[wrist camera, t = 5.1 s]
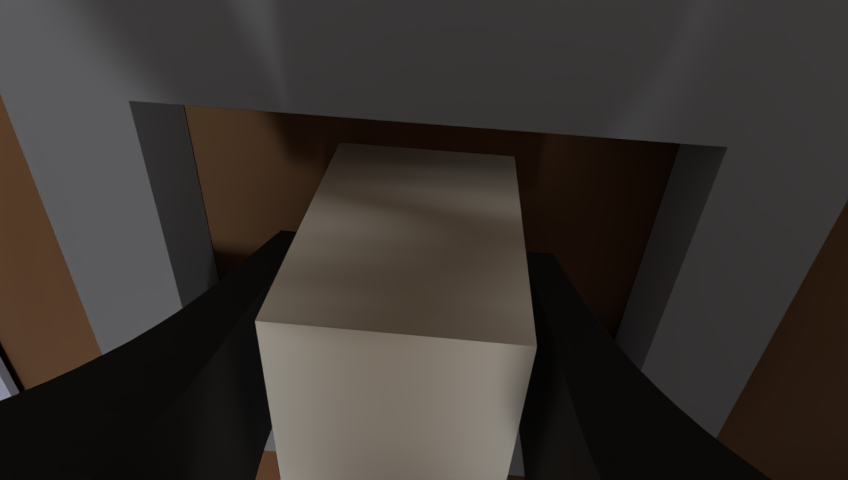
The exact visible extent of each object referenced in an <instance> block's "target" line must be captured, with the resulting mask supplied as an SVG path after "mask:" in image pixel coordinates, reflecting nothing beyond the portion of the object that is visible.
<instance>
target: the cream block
mask: <svg viewBox="0 0 848 480" xmlns="http://www.w3.org/2000/svg"><path fill="white" fill-rule="evenodd" d="M255 324H256V330H257V336H258V343H259V349H260V355H261V361H262V367H263V373H264V379H265V385H266V391H267V397H268V403H269V410H270V416H271V422H272V428H273V434H274V440H275V446H276V452H277V458H278V464H279V471H280V477H281V480H507V476H508V472H509V468H510V463H511V459H512V454H513V450H514V446H515V441H516V437H517V432H518V428H519V424H520V419H521V415H522V410H523V406H524V402H525V397H526V393H527V389H528V384H529V380H530V375H531V371H532V367H533V362H534V358H535V353H536V349H537V342H536V334H535V325H534V317H533V309H532V300H531V292H530V283H529V275H528V266H527V258H526V249H525V241H524V233H523V224H522V216H521V207H520V199H519V190H518V182H517V174H516V165H515V157H514V156H502V155H490V154H477V153H465V152H452V151H440V150H427V149H415V148H402V147H390V146H377V145H365V144H352V143H339V145H338V147H337V149H336V151H335V153H334V155H333V157H332V159H331V161H330V164H329V166H328V168H327V170H326V172H325V174H324V176H323V178H322V180H321V183H320V185H319V187H318V189H317V191H316V193H315V195H314V197H313V199H312V202H311V204H310V206H309V208H308V210H307V212H306V214H305V216H304V218H303V221H302V223H301V225H300V227H299V229H298V231H297V233H296V235H295V237H294V240H293V242H292V244H291V246H290V248H289V250H288V252H287V254H286V256H285V259H284V261H283V263H282V265H281V267H280V269H279V271H278V273H277V275H276V278H275V280H274V282H273V284H272V286H271V288H270V290H269V292H268V294H267V297H266V299H265V301H264V303H263V305H262V307H261V309H260V311H259V313H258V316H257V318H256V320H255Z"/></svg>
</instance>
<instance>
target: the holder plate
mask: <svg viewBox="0 0 848 480" xmlns="http://www.w3.org/2000/svg"><path fill="white" fill-rule="evenodd" d="M0 95H1V97H2V100H3V102H4V105H5V107H6V110H7V113H8V115H9V118H10V120H11V123H12V125H13V128H14V130H15V133H16V136H17V138H18V141H19V143H20V146H21V148H22V151H23V153H24V156H25V159H26V161H27V164H28V166H29V169H30V171H31V174H32V176H33V179H34V182H35V184H36V187H37V189H38V192H39V194H40V197H41V199H42V202H43V205H44V207H45V210H46V212H47V215H48V217H49V220H50V222H51V225H52V228H53V230H54V233H55V235H56V238H57V240H58V243H59V245H60V248H61V251H62V253H63V256H64V258H65V261H66V263H67V266H68V268H69V271H70V274H71V276H72V279H73V281H74V284H75V286H76V289H77V291H78V294H79V297H80V299H81V302H82V304H83V307H84V309H85V312H86V314H87V317H88V320H89V322H90V325H91V327H92V330H93V332H94V335H95V337H96V340H97V343H98V345H99V348H100V350H101V353H102V355H103V354H105V353H107V352H109V351H111V350H113V349H115V348H117V347H119V346H121V345H123V344H125V343H127V342H129V341H130V340H132V339H134V338H136V337H137V336H139V335H141V334H142V333H144V332H146V331H147V330H149V329H151V328H152V327H154V326H156V325H157V324H159V323H161V322H162V321H164V320H165V319H167V318H169V317H170V316H172V315H173V314H175V313H176V312H178V311H179V310H181V309H182V308H183V307H185V306H186V305H188V304H189V303H190V302H192V301H193V300H194V299H196V298H197V297H199V296H200V295H201V294H203V293H204V292H206V291H207V290H208V289H210V288H211V287H212V286H214V285H215V284H216V283H218V282H219V278H218V273H217V268H216V263H215V258H214V253H213V249H212V244H211V239H210V234H209V229H208V224H207V219H206V214H205V209H204V204H203V199H202V194H201V189H200V184H199V179H198V175H197V170H196V165H195V160H194V155H193V150H192V145H191V140H190V135H189V130H188V125H187V120H186V115H185V110H184V106H183V105H191V106H204V107H217V108H230V109H243V110H256V111H269V112H281V113H294V114H307V115H320V116H333V117H346V118H359V119H372V120H384V121H397V122H410V123H423V124H436V125H449V126H462V127H474V128H487V129H500V130H513V131H526V132H539V133H552V134H564V135H577V136H590V137H603V138H616V139H629V140H642V141H654V142H667V143H680V146H679V149H678V152H677V155H676V158H675V161H674V164H673V167H672V170H671V173H670V176H669V179H668V182H667V185H666V188H665V191H664V194H663V197H662V200H661V203H660V206H659V209H658V212H657V215H656V218H655V221H654V224H653V227H652V230H651V233H650V236H649V239H648V242H647V245H646V248H645V251H644V254H643V257H642V260H641V263H640V266H639V269H638V272H637V275H636V278H635V281H634V284H633V287H632V290H631V293H630V296H629V299H628V302H627V305H626V308H625V311H624V314H623V317H622V320H621V323H620V326H619V329H618V332H617V335H616V338H615V342H616V343H617V344H618V346H619V347H620V348H621V349H622V350H623V352H624V353H625V354H626V355H627V356H628V357H629V359H630V360H631V361H632V362H633V363H634V364H635V365H636V366H637V367H638V368H639V369H640V370H641V371H642V372H643V373H644V374H645V375H646V376H647V377H648V378H649V379H650V380H651V382H652V383H653V384H654V385H655V386H656V387H657V388H658V389H659V390H660V391H661V392H663V393H664V394H665V395H666V396H667V397H668V398H669V399H670V400H671V401H672V402H673V403H674V404H675V405H677V406H678V407H679V408H680V409H681V410H682V411H684V412H685V413H686V414H687V415H688V416H689V417H690V418H692V419H693V420H694V421H695V422H696V423H697V424H699V425H700V426H701V427H702V428H703V429H704V430H706V431H707V432H708V433H709V434H711V435H712V436H713V437H714V438H717V436H718V434H719V432H720V430H721V429H722V427H723V425H724V423H725V421H726V420H727V418H728V416H729V414H730V412H731V411H732V409H733V407H734V405H735V403H736V401H737V400H738V398H739V396H740V394H741V392H742V391H743V389H744V387H745V385H746V383H747V382H748V380H749V378H750V376H751V374H752V373H753V371H754V369H755V367H756V365H757V363H758V362H759V360H760V358H761V356H762V354H763V353H764V351H765V349H766V347H767V345H768V344H769V342H770V340H771V338H772V336H773V335H774V333H775V331H776V329H777V327H778V325H779V324H780V322H781V320H782V318H783V316H784V315H785V313H786V311H787V309H788V307H789V306H790V304H791V302H792V300H793V298H794V296H795V295H796V293H797V291H798V289H799V287H800V286H801V284H802V282H803V280H804V278H805V277H806V275H807V273H808V271H809V269H810V268H811V266H812V264H813V262H814V260H815V258H816V257H817V255H818V253H819V251H820V249H821V248H822V246H823V244H824V242H825V240H826V239H827V237H828V235H829V233H830V231H831V230H832V228H833V226H834V224H835V222H836V220H837V219H838V217H839V215H840V213H841V211H842V210H843V208H844V206H845V204H846V202H847V201H848V0H0ZM264 450H266V451H276V446H275V440H274V434H273V428H272V430H271V432H270V435H269V437H268V440H267V443H266V446H265V449H264ZM508 475H514V476H524V466H523V457H522V449H521V442H520V434H519V428H518V432H517V437H516V441H515V446H514V450H513V454H512V459H511V463H510V468H509V472H508Z"/></svg>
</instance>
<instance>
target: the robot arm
mask: <svg viewBox="0 0 848 480" xmlns="http://www.w3.org/2000/svg"><path fill="white" fill-rule="evenodd" d="M296 233H297V232H292V231H280V232H279V233H277V234H276V235H275V236H274V237H272V238H271V239H270V240H269V241H268V242H266V243H265V244H264V245H263V246H262V247H260V248H259V249H258V250H257V251H256V252H254V253H253V254H252V255H251V256H250V257H248V258H247V259H246V260H245V261H244V262H242V263H241V264H240V265H239V266H238V267H236V268H235V269H234V270H233V271H231V272H230V273H229V274H228V275H226V276H225V277H224V278H223V279H221V280H220V281H219V282H218V283H216V284H215V285H214V286H212V287H211V288H210V289H208V290H207V291H206V292H204V293H203V294H201V295H200V296H199V297H197V298H196V299H194V300H193V301H192V302H190V303H189V304H188V305H186V306H185V307H183V308H182V309H181V310H179V311H178V312H176V313H175V314H173V315H172V316H170V317H169V318H167V319H165V320H164V321H162V322H161V323H159V324H157V325H156V326H154V327H152V328H151V329H149V330H147V331H146V332H144V333H142V334H141V335H139V336H137V337H136V338H134V339H132V340H130V341H129V342H127V343H125V344H123V345H121V346H119V347H117V348H115V349H113V350H111V351H109V352H107V353H105V354H103V355H102V356H100V357H98V358H96V359H94V360H92V361H90V362H88V363H86V364H84V365H82V366H80V367H78V368H76V369H74V370H72V371H69V372H67V373H65V374H63V375H60V376H58V377H56V378H54V379H52V380H49V381H47V382H45V383H42V384H40V385H38V386H35V387H33V388H30V389H28V390H26V391H23V392H21V393H20V392H19V390H18V389H17V387H16V385H15V383H14V381H13V379H12V377H11V376H10V374H9V372H8V370H7V368H6V366H5V364H4V363H3V361H2V359H1V357H0V480H255V478H256V475H257V471H258V468H259V464H260V461H261V457H262V454H263V451H264V449H265V446H266V443H267V440H268V437H269V435H270V432H271V430H272V422H271V416H270V410H269V403H268V397H267V391H266V385H265V379H264V373H263V367H262V361H261V355H260V349H259V343H258V336H257V330H256V324H255V320H256V318H257V316H258V313H259V311H260V309H261V307H262V305H263V303H264V301H265V299H266V297H267V294H268V292H269V290H270V288H271V286H272V284H273V282H274V280H275V278H276V275H277V273H278V271H279V269H280V267H281V265H282V263H283V261H284V259H285V256H286V254H287V252H288V250H289V248H290V246H291V244H292V242H293V240H294V237H295V235H296ZM526 258H527V266H528V275H529V283H530V292H531V300H532V309H533V317H534V325H535V334H536V342H537V349H536V353H535V358H534V362H533V367H532V371H531V375H530V380H529V384H528V389H527V393H526V397H525V402H524V406H523V410H522V415H521V419H520V424H519V434H520V442H521V449H522V457H523V466H524V477H525V480H771V479H769V478H768V477H767V476H765V475H764V474H762V473H761V472H759V471H758V470H757V469H755V468H754V467H753V466H751V465H750V464H749V463H747V462H746V461H745V460H743V459H742V458H741V457H739V456H738V455H736V454H735V453H734V452H732V451H731V450H730V449H728V448H727V447H726V446H725V445H723V444H722V443H721V442H719V441H718V440H717V439H716V438H714V437H713V436H712V435H711V434H709V433H708V432H707V431H706V430H704V429H703V428H702V427H701V426H700V425H699V424H697V423H696V422H695V421H694V420H693V419H692V418H690V417H689V416H688V415H687V414H686V413H685V412H684V411H682V410H681V409H680V408H679V407H678V406H677V405H675V404H674V403H673V402H672V401H671V400H670V399H669V398H668V397H667V396H666V395H665V394H664V393H663V392H661V391H660V390H659V389H658V388H657V387H656V386H655V385H654V384H653V383H652V382H651V380H650V379H649V378H648V377H647V376H646V375H645V374H644V373H643V372H642V371H641V370H640V369H639V368H638V367H637V366H636V365H635V364H634V363H633V362H632V361H631V360H630V359H629V357H628V356H627V355H626V354H625V353H624V352H623V350H622V349H621V348H620V347H619V346H618V344H617V343H616V342H615V341H614V340H613V338H612V337H611V336H610V335H609V333H608V332H607V331H606V330H605V328H604V327H603V326H602V324H601V323H600V322H599V320H598V319H597V318H596V316H595V315H594V314H593V312H592V311H591V310H590V308H589V307H588V306H587V304H586V303H585V301H584V300H583V298H582V297H581V295H580V294H579V293H578V291H577V290H576V288H575V287H574V285H573V284H572V282H571V280H570V279H569V277H568V276H567V274H566V273H565V271H564V270H563V268H562V266H561V265H560V263H559V262H558V260H557V258H556V257H555V256H554V255H553V254H548V253H537V252H526Z"/></svg>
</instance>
